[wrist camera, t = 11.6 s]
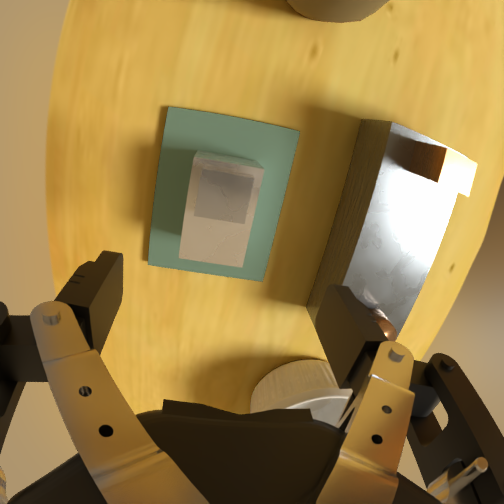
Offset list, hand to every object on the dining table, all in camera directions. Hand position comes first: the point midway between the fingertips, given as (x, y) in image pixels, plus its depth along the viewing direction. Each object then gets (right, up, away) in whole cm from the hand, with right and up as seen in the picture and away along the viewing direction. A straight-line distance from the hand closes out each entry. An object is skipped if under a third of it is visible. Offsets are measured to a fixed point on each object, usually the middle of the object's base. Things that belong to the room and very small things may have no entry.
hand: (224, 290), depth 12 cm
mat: (-2, +6, +13) cm, 14 cm away
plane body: (+12, +4, +15) cm, 20 cm away
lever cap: (-2, +5, +12) cm, 14 cm away
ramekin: (+7, -15, +23) cm, 29 cm away
